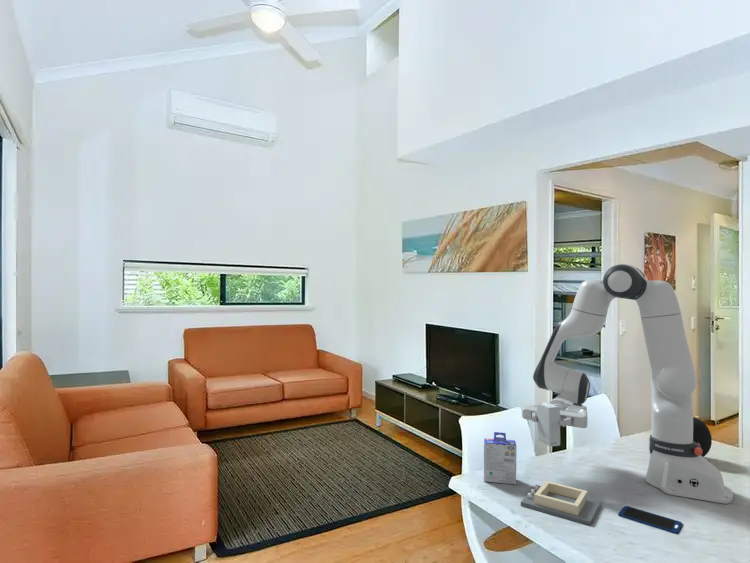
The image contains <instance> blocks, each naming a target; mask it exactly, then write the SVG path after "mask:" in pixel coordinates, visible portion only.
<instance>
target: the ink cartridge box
mask: <svg viewBox="0 0 750 563" xmlns="http://www.w3.org/2000/svg"><path fill="white" fill-rule="evenodd" d="M498 436H501V437H498ZM502 436H503V437H502ZM483 441H484V443H483V481H484V482H485V483H486V482H487V483H499V484H500V483H501V484H506V485H508V484H509V485H516V484H517V442H516V440H515V439H507V435H506V432H498V431H497V432H496V431H494V432H493V438H484V440H483Z"/></svg>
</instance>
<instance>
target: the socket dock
mask: <svg viewBox="0 0 750 563" xmlns="http://www.w3.org/2000/svg"><path fill="white" fill-rule="evenodd" d="M601 502H602V501H601V500H597V499H592V498H589V497H588V490H584V489H581V488H576V487H572V486H569V485H565V484H562V483H561V484H560V483H557V482H554V481H553V482H552V481H548V480H545V481H544V483H542V485H539V484H535V485H534V486H533V488H531V489H530V491H529V492H528V493H527V494H526V495H525V497H524V498H523V499H521V501H520V506H522V507H525V508H528V509H531V510H536V511H538V512H542V513H546V514H550V515H552V516H555V517H556V516H557V517H559V518H562V519H566V520H569V521H574V522H577V523H581V524H583V525H587V526H591V525H592V523H593V522H594V519H595V517H596V515H597V514H598V511H599V510H600V508H601V506H602V503H601Z"/></svg>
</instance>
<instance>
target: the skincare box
mask: <svg viewBox="0 0 750 563" xmlns="http://www.w3.org/2000/svg"><path fill="white" fill-rule="evenodd" d="M536 405H537V422H536V423H537V425H536V426H537V441H538V442H540V443H542V444H544V445H547V446H549V447H558V446H560V445H561V426H559V424H560V423H559V421H560V407H558V406H556V405H553V404H550V403H549V402H546V401H545V402H539V403H536Z"/></svg>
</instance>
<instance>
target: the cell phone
mask: <svg viewBox="0 0 750 563" xmlns="http://www.w3.org/2000/svg"><path fill="white" fill-rule="evenodd" d="M617 515H618V517H621V518H623V519H627V520H629V521H633V522H636V523H639V524H642V525H646V526H648V527H652V528H655V529H658V530H661V531H665V532H668V533H671V534H675V535H679V533H680V532H681V530H682V528H683V525H684V524H683V522H682V521H680V520H677V519H672V518H669V517H666V516H663V515H659V514H656V513H654V512H649V511H647V510H642V509H639V508H635V507H634V506H633V507H632V506H630V505H624V506H623V507H622V508H621V509H620V511H619V512H618V514H617Z"/></svg>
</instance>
